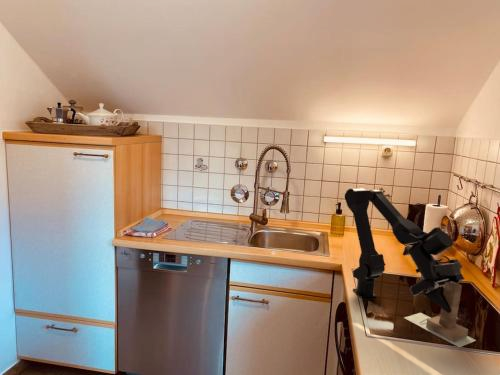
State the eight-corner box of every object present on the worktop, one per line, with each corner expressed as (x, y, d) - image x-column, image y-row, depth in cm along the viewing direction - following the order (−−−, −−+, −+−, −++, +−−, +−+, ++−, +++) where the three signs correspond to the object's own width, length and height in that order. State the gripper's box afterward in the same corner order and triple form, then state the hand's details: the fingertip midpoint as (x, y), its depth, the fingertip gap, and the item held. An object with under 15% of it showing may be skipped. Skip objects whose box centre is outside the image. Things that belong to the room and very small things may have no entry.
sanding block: (426, 327, 116) (432, 279, 113) (438, 323, 119) (445, 276, 116) (454, 342, 108) (462, 291, 106) (466, 337, 111) (474, 288, 109)
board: (403, 321, 121) (403, 317, 121) (420, 316, 125) (420, 312, 125) (458, 351, 106) (459, 347, 106) (475, 344, 110) (476, 340, 110)
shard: (368, 304, 133) (368, 299, 132) (391, 309, 130) (392, 304, 130) (365, 317, 123) (366, 312, 122) (390, 323, 120) (391, 318, 120)
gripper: (425, 253, 108) (457, 307, 101) (463, 247, 118) (494, 295, 110) (398, 270, 116) (425, 321, 109) (435, 262, 126) (463, 309, 118)
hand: (453, 311), depth 111 cm, fingers closed on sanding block, 3 cm apart
